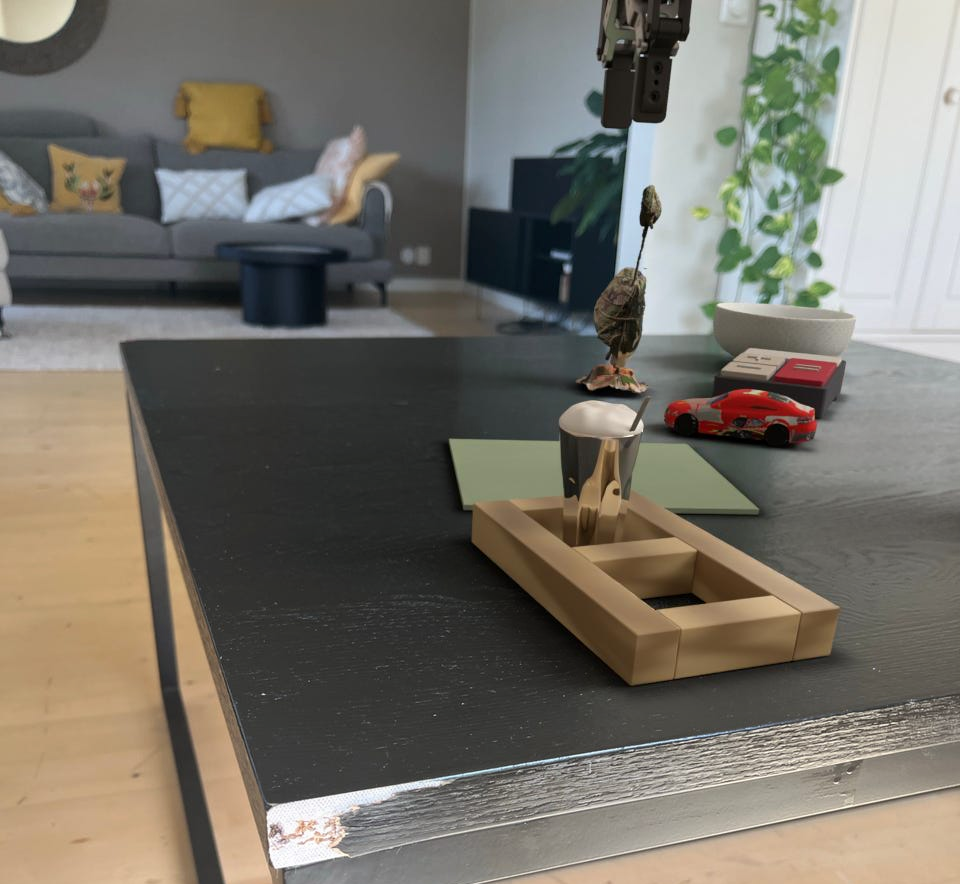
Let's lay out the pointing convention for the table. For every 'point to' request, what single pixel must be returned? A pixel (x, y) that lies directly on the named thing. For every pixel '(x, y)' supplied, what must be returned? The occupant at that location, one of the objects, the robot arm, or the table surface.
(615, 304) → the plant with pod
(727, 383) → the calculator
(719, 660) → the frame
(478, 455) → the mat
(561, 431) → the milkshake
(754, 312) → the cereal bowl
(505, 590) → the table surface
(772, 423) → the race car
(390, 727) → the table surface
